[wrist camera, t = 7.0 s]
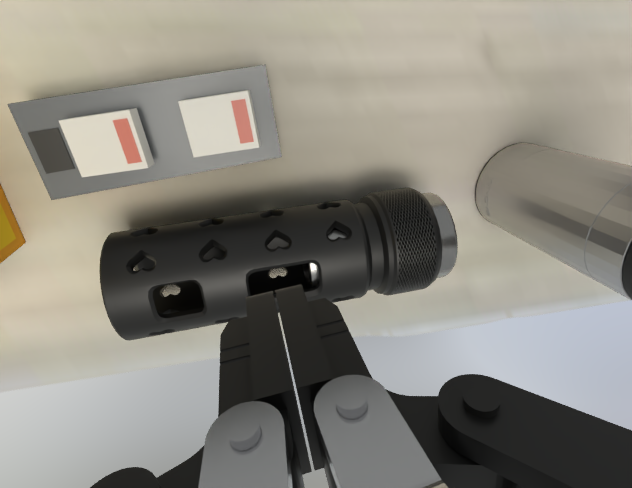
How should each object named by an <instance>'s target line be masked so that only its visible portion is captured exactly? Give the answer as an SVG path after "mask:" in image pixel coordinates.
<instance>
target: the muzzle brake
mask: <svg viewBox="0 0 632 488" xmlns="http://www.w3.org/2000/svg"><path fill="white" fill-rule="evenodd" d="M456 258H457V235H456V230H455V225H454V222H453V219H452V216H451V214H450V211H449V209H448V207H447V206H446V204H445V203H444V201H443V200H442V199H441V198H440V197H439V196H437V195H435V194H433V193H423V194H421V193H420V192H418V191H416V190H414V189H412V188H401V189H394V190H387V191H380V192H372V193H369V194H368V195H366V196H365V197H363V198H361V200H360V201H359V203H356V204H353V203H352V202H350V201H349V200H338V201H332V202H325V203H318V204H311V205H304V206H297V207H290V208H283V209H276V210H269V211H262V212H255V213H248V214H241V215H234V216H226V217H219V218H212V219H205V220H198V221H191V222H184V223H177V224H170V225H163V226H156V227H149V228H142V229H135V230H128V231H121V232H114V233H111V234H110V235H109V236H108V237H107V239H106V241H105V242H104V245H103V248H102V251H101V257H100V283H101V290H102V296H103V301H104V305H105V308H106V311H107V314H108V317H109V319H110V322H111V324H112V326H113V327H114V329H115V331H116V332H117V333H118V334H119V335H120V336H121V337H122V338H124V339H125V340H134V339H140V338H145V337H150V336H156V335H161V334H165V333H172V332H177V331H183V330H188V329H193V328H199V327H204V326H209V325H215V324H220V323H225V322H229V321H230V320H234V319H239V318H243V317H247V309H246V297H249V296H253V295H258V294H262V293H266V292H270V291H273V295H274V299H275V304H276V308H277V313H279V312H280V311H279V306H278V302H277V297H276V293H275V290H279V289H283V288H287V287H291V286H296V285H300V284H301V285H302V287H303V290H304V293H305V296H306V298H307V301H308V302H309V301H313V300H317V299H321V298H326V299H327V300H329V301H330V302H332V303H333V302H338V301H343V300H349V299H354V298H360V297H362V296H363V295H365V294H366V292H367V291H368V290H372V289H373V290H374V291H375V292H377V293H380V294H382V293H383V294H384V295H393V294H398V293H403V292H409V291H414V290H419V289H424V288H426V287H428V286H429V285H430V284H431V283H432V282H433V281H435V280H436V278H440V277H444V276H446V275H448V274H449V273H450V272H451V271H452V269H453V267H454V265H455V262H456ZM134 267H135V270H136V271H133V268H134ZM275 268H283V269H285V270H286V272H287V274H286V276H284V277H281V276H279V275H278V276H277V277H276V278H270V276H269V273H270V272H271V270H272V269H275ZM170 284H174V285H176V286H178V287H180V289H181V291H180V293H179V294H178V295H173V294H170V295H168V296H167V297H164V296H163V294H162V292H163V290H164V289H165V288H166V287H167V286H168V285H170Z"/></svg>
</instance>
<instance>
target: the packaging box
mask: <svg viewBox="0 0 632 488" xmlns="http://www.w3.org/2000/svg"><path fill="white" fill-rule="evenodd" d="M24 243H25V240H24V237H23V235H22V233H21V230H20V228H19V226H18V224H17V221H16V219H15V217H14V214H13V212H12V210H11V208H10V205H9V203H8V201H7V198H6V196H5V194H4V192H3V189H2V187H1V185H0V263H1V262H2V261H4V260H5V259H6V258H7V257H9V256H10V255H11V254H12V253H13V252H15V251H16V250H17V249H18V248H20V247H21V246H22V245H23V244H24Z"/></svg>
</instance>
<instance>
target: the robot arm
mask: <svg viewBox="0 0 632 488" xmlns="http://www.w3.org/2000/svg"><path fill="white" fill-rule="evenodd" d="M476 204H477V207H478V210H479V211H480V213H481V215H482V216H483V217H484V218H485V219H486V220H488V221H489V222H491V223H493V224H495V225H497V226H498V227H500V228H502V229H504V230H506V231H507V232H509V233H511V234H512V235H514V236H516V237H518V238H520V239H521V240H523V241H525V242H527V243H529V244H530V245H532V246H534V247H536V248H538V249H540V250H541V251H543V252H545V253H547V254H549V255H550V256H552V257H554V258H556V259H558V260H559V261H561V262H563V263H565V264H567V265H569V266H570V267H572V268H574V269H576V270H578V271H579V272H581V273H583V274H585V275H587V276H588V277H590V278H592V279H594V280H596V281H598V282H600V283H602V284H603V285H605V286H607V287H609V288H611V289H612V290H614V291H616V292H618V293H620V294H621V295H623V296H625V297H627V298H629V299H631V300H632V166H630V165H625V164H620V163H616V162H611V161H607V160H602V159H598V158H593V157H589V156H584V155H580V154H575V153H570V152H566V151H562V150H558V149H553V148H549V147H544V146H539V145H535V144H530V143H519V144H513V145H511V146H509V147H506V148H504V149H503V150H501V151H500V152H498V153H497V154H496V155H495V156H494V157H493V158H492V159H491V160H490V161H489V162H488V163H487V165H486V166H485V167H484V169H483V171H482V173H481V175H480V177H479V180H478V183H477V187H476ZM275 293H276V297H277V302H278V306H279V311H280V316H281V320H282V325H283V329H284V334H285V338H286V343H287V347H288V352H289V356H290V360H291V365H292V370H293V374H294V379H295V383H296V388H297V393H298V397H299V401H300V405H301V410H302V415H303V419H304V424H305V428H306V433H307V437H308V442H309V447H310V451H311V456H312V460H313V465H314V469H315V470H318V469H321V468H324V469H325V473H326V477H327V481H328V485H329V488H632V431H631V430H629V429H626V428H623V427H621V426H618V425H615V424H613V423H610V422H607V421H605V420H602V419H600V418H597V417H594V416H592V415H589V414H586V413H584V412H581V411H578V410H576V409H573V408H571V407H568V406H565V405H562V404H560V403H557V402H555V401H552V400H549V399H547V398H544V397H541V396H539V395H536V394H534V393H531V392H528V391H526V390H523V389H520V388H518V387H515V386H512V385H510V384H507V383H505V382H502V381H499V380H497V379H494V378H491V377H488V376H483V375H475V374H469V375H468V374H467V375H461V376H457V377H454V378H452V379H450V380H449V381H447V382H446V383H445V384H444V385H443V386H442V388H441V389H440V392H439V395H438V396H405V395H399V394H396V393H393V392H390V391H388V390H386V389H385V388H384V387H383V386H382V385H381V384H380V383H379V382H377V381H375V380H374V379H373V378H372V377H371V375H370V373H369V371H368V369H367V367H366V365H365V363H364V361H363V359H362V357H361V355H360V352H359V350H358V348H357V346H356V344H355V342H354V340H353V338H352V336H351V334H350V332H349V330H348V327H347V325H346V323H345V322H344V319H343V317H342V315H341V313H340V311H339V309H338V307H337V306H336V305H335V304H333V303H332V302H330V301H329V300H327V299H326V298H321V299H317V300H313V301H309V302H308V301H307V298H306V296H305V293H304V290H303V287H302V285H301V284H300V285H296V286H291V287H287V288H283V289H279V290H275ZM246 309H247V317H243V318H239V319H234V320H230V321H229V322H228V324H227V325H226V327H225V329H224V330H223V332H222V334H221V342H220V351H221V353H220V380H219V415H218V418H217V419H216V420H215V422H214V423H213V424H212V426H211V427H210V429H209V431H208V433H207V436H206V440H205V445H204V446H203V447H202V448H201V449H200V450H199V451H198V452H197V453H196V454H194V455H193V456H192V457H191V458H189V459H188V460H186V461H185V462H183V463H181V464H180V465H178V466H176V467H174V468H173V469H171V470H169V471H168V472H166V473H164V474H163V475H161V476H159V477H158V478H156V477H155V476H154V475H153V473H152V472H150V471H148V470H147V469H144V468H139V467H132V468H125V469H121V470H119V471H116V472H113V473H111V474H110V475H108V476H106V477H104V478H103V479H101V480H99V481H98V482H97V483H95V484H94V485H93V486H92V487H90V488H304V483H303V477H302V474H305V473H309V472H311V466H310V461H309V457H308V452H307V447H306V443H305V438H304V433H303V429H302V424H301V419H300V415H299V410H298V405H297V400H296V396H295V391H294V386H293V382H292V377H291V372H290V368H289V363H288V358H287V354H286V349H285V344H284V340H283V335H282V331H281V326H280V322H279V317H278V313H277V308H276V304H275V299H274V295H273V291H270V292H266V293H262V294H258V295H253V296H249V297H246Z"/></svg>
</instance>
